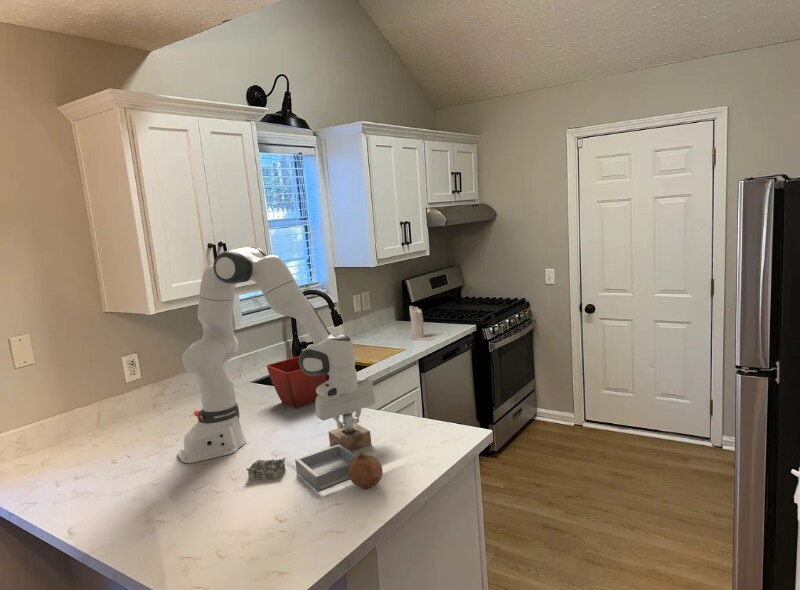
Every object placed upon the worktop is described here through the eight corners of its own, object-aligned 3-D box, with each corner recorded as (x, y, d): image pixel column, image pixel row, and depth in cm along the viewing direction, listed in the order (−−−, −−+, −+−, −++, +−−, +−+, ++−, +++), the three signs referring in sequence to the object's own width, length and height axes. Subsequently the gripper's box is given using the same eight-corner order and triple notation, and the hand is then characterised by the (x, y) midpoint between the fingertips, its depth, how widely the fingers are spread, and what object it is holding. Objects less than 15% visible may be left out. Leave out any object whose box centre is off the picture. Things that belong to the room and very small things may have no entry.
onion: (344, 486, 152) (341, 453, 151) (374, 476, 157) (371, 443, 155) (359, 500, 144) (355, 465, 142) (390, 489, 148) (386, 454, 147)
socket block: (344, 458, 170) (342, 440, 169) (330, 448, 178) (328, 431, 177) (371, 448, 175) (370, 431, 174) (356, 439, 184) (355, 422, 183)
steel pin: (347, 448, 173) (343, 413, 171) (340, 444, 177) (336, 409, 175) (360, 444, 176) (356, 409, 174) (353, 439, 180) (349, 405, 178)
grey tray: (318, 492, 150) (316, 477, 150) (296, 473, 163) (295, 459, 162) (364, 474, 158) (363, 459, 158) (341, 457, 171) (339, 444, 170)
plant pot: (291, 413, 214) (286, 372, 212) (270, 403, 229) (265, 364, 227) (332, 400, 226) (328, 361, 223) (310, 391, 241) (305, 354, 238)
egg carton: (246, 482, 161) (244, 469, 160) (254, 470, 168) (253, 457, 168) (281, 480, 160) (279, 467, 159) (288, 468, 167) (286, 455, 167)
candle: (430, 340, 314) (427, 306, 311) (409, 339, 321) (407, 306, 318) (436, 337, 320) (433, 304, 317) (415, 336, 327) (412, 304, 324)
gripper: (366, 374, 182) (370, 413, 184) (311, 389, 171) (315, 431, 173) (376, 378, 176) (380, 418, 178) (319, 394, 165) (324, 437, 167)
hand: (348, 425), depth 175 cm, fingers closed on steel pin, 4 cm apart
